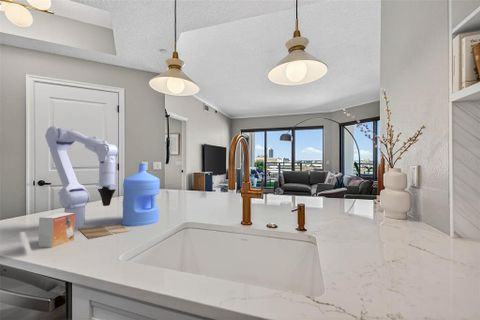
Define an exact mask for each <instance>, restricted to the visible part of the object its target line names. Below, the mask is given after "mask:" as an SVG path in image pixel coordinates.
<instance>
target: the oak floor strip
mask: <svg viewBox="0 0 480 320" xmlns="http://www.w3.org/2000/svg"><path fill="white" fill-rule="evenodd" d="M101 226H102V227H103V228H105V229H106V230H108V231H110V232H111V233H113V235H116V234H122V233H128V232H131V231H132V230H131V229H129V228H128V227H125V225H123V224H119V223H118V222H115V223H110V224H109V223H108V224H104V225H101Z"/></svg>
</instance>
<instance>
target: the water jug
mask: <svg viewBox="0 0 480 320" xmlns="http://www.w3.org/2000/svg"><path fill="white" fill-rule="evenodd" d="M160 185H161V182H160V178H158V177H156V176H155V175H153V174H151V173H150V172H149V173H148V172H147V163H142V162H140V163H139V162H138V171H137V172H136V173H134V174H132V175H129V176H127V177H126V178H124V179H123V183H122V187H123V188H122V189H123V192H122V193H123V195H122V196H123V197H122V219H121V221H122V222H121V223H122V224H121V225H122V226H128V227H130V226H131V227H140V226H141V227H142V226H149V225H153V224H156V223H158V222H159V221H160V216H159V215H160V207H159V206H157V202H156V201H157V195H159V194H160V188H161V187H160Z"/></svg>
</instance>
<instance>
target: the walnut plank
mask: <svg viewBox="0 0 480 320" xmlns="http://www.w3.org/2000/svg"><path fill="white" fill-rule="evenodd" d="M77 230H78V231H79V232H81V233H82V234H83V235H84V236H85V237H86V238H87V239H88V240H93V239H96V238H102V237H107V236H113V235H114V233H113V232H111V231H110V230H108V229H106V228H105V227H103V226H102V225H96V226H95V225H94V226H88V227H83V228H77Z"/></svg>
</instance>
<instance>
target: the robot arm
mask: <svg viewBox="0 0 480 320" xmlns="http://www.w3.org/2000/svg"><path fill="white" fill-rule="evenodd" d="M44 137H45V140H46V142H47V145H48V148H49V152H50V154H51V157H52V159H53V163H54V165H55V168H56V170H57V174H58V176H59V178H60V182H61V184H62V188H61V189H60V190H59V191H58V196H59V204H60V206H61V207H62V209H64V210H63V212H64V213H75V226H74V228H76V227H81V226H84V225H85V223H86V206H87V205H88V203H89V202H90V199H91V194H90V192H89V191H88V190H87V189H86V187H85V186H84V185H83V184H81V183H79V181H78V178H77V175H76V173H75V170H74V169H73V166H72V163H71V161H70V157H69V154H68V152H67V151H68V150H70V149H71V148H72V146H73V145H74V144H75V143H76V142H78V143H80V144H83V145H84V148H85V149H87V150H89V151H91V152H93V153H95V154H96V156H97V157H98V158H97V161H98V163H99V169H98V183H95V186H98V187H101V188H98V189H97V191H98V193H99V195H100V198H101V202H102V206H104V207H107V206H108V207H109V206H110V205H111V202H112V199H113V195H114V194H115V192H116V185H117V184H116V157H118V155H119V152H120V150H119V149H120V148H119V147H118V145H116V143H115V144H114V143H108V141H107V140H102V139H100V137H98V136H96V135H93V136H90V137H89V136H87V135H85V134H83V133H82V132H80V131H78V130H76V129H72V128H71V129H70V128H63V127H57V126H54V125H53V126H49V127H48V128H47V129H46V132H45V134H44Z"/></svg>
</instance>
